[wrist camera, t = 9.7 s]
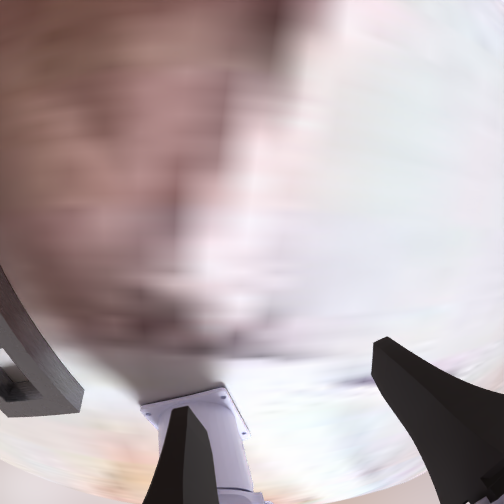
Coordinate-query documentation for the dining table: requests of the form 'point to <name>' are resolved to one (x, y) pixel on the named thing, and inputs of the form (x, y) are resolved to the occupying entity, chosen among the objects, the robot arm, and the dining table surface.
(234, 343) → the dining table surface
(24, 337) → the steel frame
